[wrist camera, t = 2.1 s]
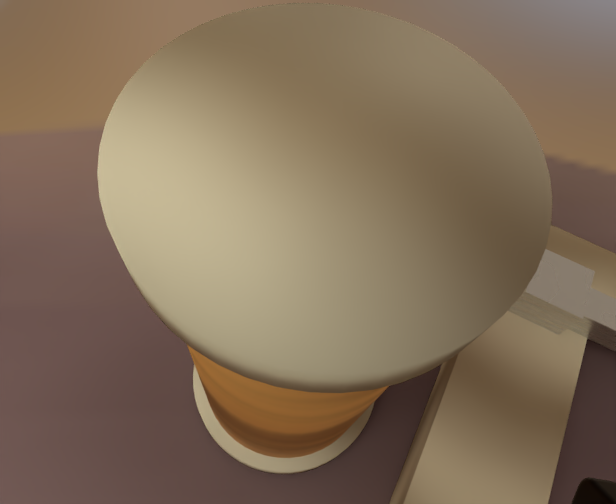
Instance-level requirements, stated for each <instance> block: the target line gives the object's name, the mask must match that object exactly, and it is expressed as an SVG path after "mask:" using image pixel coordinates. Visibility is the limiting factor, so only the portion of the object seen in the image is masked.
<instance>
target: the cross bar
mask: <svg viewBox="0 0 616 504" xmlns="http://www.w3.org/2000/svg"><path fill="white" fill-rule="evenodd" d="M594 273H595V271H593V270H591V269H589V268H587V267H584V266H582V265H580V264H578V263H576V262H573V261H571V260H569V259H567V258H565V257H562V256H560V255H558V254H556V253H554V252H551V251H549V250H547V249H545V251H544V254H543V256H542V259H541V261H540V264H539V266H538V268H537V271H536V273H535V274H534V276H533V278H532V279H531V281H530V282H529V284H528V286H527V287H526V289H525V290H524V292H523V294H522V295H521V296H520V297H519V298H518V299H517V301H516V302H515V303H514V304H513V305H512V306H511V307H510V308H509V310H508V311H509V312H511V313H514V314H516V315H518V316H520V317H522V318H524V319H526V320H528V321H530V322H532V323H534V324H537V325H539V326H541V327H543V328H545V329H547V330H549V331H551V332H553V333H555V334H557V335H558V334H560V333H562V332H563V331H565V330H566V329H569V330H571V331H573V332H575V333H577V334H579V335H582V336H584V337H586V338H588V339H590V340H592V341H594V342H596V343H598V344H600V345H603V346H605V347H607V348H609V349H611V350H613V351H615V352H616V299H615V298H613V297H610V296H608V295H606V294H604V293H602V292H600V291H597V290H595V289H593V288H591V285H592V281H593V277H594Z"/></svg>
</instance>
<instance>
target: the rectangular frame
mask: <svg viewBox="0 0 616 504" xmlns="http://www.w3.org/2000/svg"><path fill="white" fill-rule="evenodd" d="M546 249H547V250H549V251H551V252H554V253H556V254H558V255H560V256H562V257H565V258H567V259H569V260H571V261H573V262H576V263H578V264H580V265H582V266H584V267H587V268H589V269H591V270H593V271H595V273H594V277H593V281H592V285H591V288H593V289H595V290H597V291H600V292H602V293H604V294H606V295H608V296H610V297H613V298H615V299H616V254H615V253H613V252H611V251H608V250H606V249H604V248H602V247H600V246H597V245H595V244H593V243H591V242H588V241H586V240H584V239H582V238H579V237H577V236H575V235H573V234H571V233H568V232H566V231H564V230H562V229H559V228H557V227H555V226H553V225H551V227H550V231H549V236H548V241H547V245H546ZM586 341H587V338H586V337H584V336H582V335H579V334H577V333H575V332H573V331H571V330H569V329H566V330H565V331H563V332H562V333H560V334H558V335H557V334H555V333H553V332H551V331H549V330H547V329H545V328H543V327H541V326H539V325H537V324H534V323H532V322H530V321H528V320H526V319H524V318H522V317H520V316H518V315H516V314H514V313H511V312H509V311H507V312H506V313H505V314H504V315H503V316H502V317H501V318H500V319H498V320H497V321H496V322H495V323H494V324H493V325H491V326H490V327H489V328H488V329H487V330H486V331H484V332H483V333H482V334H481V335H480V336H478V337H477V338H476V339H475V340H474V341H473V342H471V343H470V344H469V345H468V346H466V347H465V348H464V349H463V350H461V351H460V352H459V353H458V354H456V355H455V356H454V357H453V358H451V359H449V360H448V361H446V362H444V363H443V364H442V366H441V369H440V371H439V374H438V376H437V379H436V382H435V384H434V387H433V390H432V392H431V395H430V397H429V400H428V403H427V405H426V408H425V411H424V413H423V416H422V418H421V421H420V424H419V426H418V429H417V432H416V434H415V437H414V439H413V442H412V445H411V447H410V450H409V453H408V455H407V458H406V460H405V463H404V466H403V468H402V471H401V474H400V476H399V479H398V481H397V484H396V487H395V489H394V492H393V495H392V497H391V500H390V502H389V504H548V501H549V496H550V492H551V488H552V484H553V480H554V475H555V471H556V467H557V463H558V459H559V455H560V450H561V446H562V442H563V438H564V434H565V429H566V425H567V421H568V417H569V413H570V408H571V404H572V400H573V396H574V392H575V388H576V383H577V379H578V375H579V371H580V367H581V362H582V358H583V354H584V350H585V346H586Z"/></svg>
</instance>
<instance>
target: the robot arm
mask: <svg viewBox="0 0 616 504" xmlns="http://www.w3.org/2000/svg"><path fill="white" fill-rule="evenodd" d="M572 504H616V483H614V482H612V481H607V480H601V479H595V478H585V479H583V480H582V481H581V482H580V484H579V486H578V489H577V491H576V494H575V496H574V499H573V501H572Z"/></svg>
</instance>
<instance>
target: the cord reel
mask: <svg viewBox="0 0 616 504" xmlns="http://www.w3.org/2000/svg"><path fill="white" fill-rule="evenodd" d="M97 174H98V185H99V197H100V201H101V205H102V209H103V213H104V217H105V221H106V224H107V227H108V229H109V231H110V233H111V236H112V238H113V240H114V242H115V245H116V247H117V249H118V251H119V253H120V255H121V257H122V259H123V261H124V263H125V265H126V267H127V269H128V271H129V273H130V275H131V277H132V279H133V281H134V283H135V285H136V287H137V288H138V290H139V291H140V293H141V294H142V296H143V297H144V299H145V301H146V302H147V304H148V305H149V307H150V308H151V309H152V310H153V311H154V313H155V314H156V315H157V316H158V317H159V318H160V319H161V320H162V322H163V323H164V324H165V325H166V326H167V327H168V328H169V329H170V330H171V331H172V332H173V333H174V334H176V335H177V336H178V337H179V338H180V339H182V340H183V341H184V342H185V343H186V344H187V346H188V348H189V351H190V354H191V356H192V359H193V362H194V371H193V388H194V395H195V400H196V404H197V407H198V411H199V413H200V415H201V417H202V420H203V422H204V424H205V426H206V428H207V430H208V431H209V433H210V434H211V436H212V438H213V439H214V440H215V441H216V442H217V444H218V445H219V446H220V447H221V448H222V449H223V450H224V451H225V452H226V453H227V454H229V455H230V456H231V457H232V458H234V459H235V460H237V461H238V462H240V463H242V464H244V465H246V466H248V467H250V468H253V469H256V470H259V471H262V472H267V473H273V474H294V473H302V472H305V471H309V470H313V469H315V468H317V467H320V466H322V465H324V464H326V463H328V462H329V461H331V460H332V459H334V458H335V457H337V456H338V455H339V454H340V453H342V452H343V451H344V450H345V449H346V448H348V447H349V446H350V445H351V444H352V442H353V441H354V440H355V439H356V438H357V437H358V435H359V434H360V433H361V431H362V430H363V428H364V427H365V425H366V423H367V421H368V419H369V417H370V415H371V412H372V409H373V406H374V402H375V400H376V399H377V398H378V397H379V396H380V395H381V394H382V393H383V392H384V391H385V390H386V389H387V388H388V387H389V386H390V385H394V384H398V383H402V382H404V381H407V380H409V379H412V378H414V377H417V376H419V375H422V374H424V373H427V372H429V371H431V370H432V369H434V368H436V367H438V366H439V365H441V364H443V363H444V362H446V361H448V360H449V359H451V358H453V357H454V356H455V355H456V354H458V353H459V352H460V351H461V350H463V349H464V348H465V347H466V346H468V345H469V344H470V343H471V342H473V341H474V340H475V339H476V338H477V337H478V336H480V335H481V334H482V333H483V332H484V331H486V330H487V329H488V328H489V327H490V326H491V325H493V324H494V323H495V322H496V321H497V320H498V319H500V318H501V317H502V316H503V315H504V314H505V313H506V312H507V311H508V310H509V308H510V307H511V306H512V305H513V304H514V303H515V302H516V301H517V299H518V298H519V297H520V296H521V295H522V294H523V292H524V290H525V289H526V287H527V286H528V284H529V282H530V281H531V279H532V278H533V276H534V274H535V273H536V271H537V268H538V266H539V264H540V261H541V259H542V256H543V254H544V251H545V249H546V245H547V241H548V236H549V231H550V227H551V217H552V192H551V182H550V175H549V171H548V167H547V164H546V160H545V156H544V153H543V150H542V148H541V145H540V143H539V141H538V138H537V136H536V133H535V131H534V130H533V128H532V126H531V124H530V123H529V121H528V119H527V118H526V116H525V114H524V112H523V111H522V110H521V108H520V107H519V105H518V104H517V103H516V101H515V100H514V99H513V97H512V96H511V95H510V94H509V92H508V91H507V90H506V89H505V88H504V87H503V86H502V85H501V84H500V83H499V82H498V81H497V79H496V78H495V77H494V76H493V75H492V74H490V73H489V72H488V71H487V70H486V69H485V68H483V67H482V66H481V65H480V64H479V63H478V62H476V61H475V60H474V59H473V58H471V57H470V56H469V55H467V54H466V53H464V52H463V51H461V50H460V49H459V48H457V47H456V46H454V45H452V44H451V43H449V42H447V41H445V40H443V39H442V38H440V37H438V36H437V35H435V34H433V33H431V32H429V31H427V30H424V29H422V28H420V27H418V26H415V25H413V24H411V23H408V22H405V21H403V20H400V19H397V18H394V17H391V16H389V15H385V14H381V13H377V12H373V11H369V10H366V9H359V8H354V7H349V6H343V5H333V4H321V3H289V4H278V5H268V6H262V7H257V8H252V9H246V10H242V11H239V12H235V13H232V14H228V15H224V16H221V17H219V18H217V19H214V20H211V21H209V22H206V23H204V24H201V25H199V26H197V27H195V28H193V29H192V30H190V31H188V32H186V33H184V34H182V35H180V36H179V37H177V38H176V39H174V40H173V41H171V42H170V43H168V44H167V45H165V46H164V47H163V48H161V49H160V50H159V51H158V52H157V53H155V54H154V55H153V56H152V57H151V58H150V59H149V60H147V61H146V62H145V63H144V64H143V65H142V66H141V67H140V68H139V70H138V71H137V72H136V73H135V74H134V75H133V77H132V78H131V79H130V80H129V81H128V83H127V84H126V86H125V87H124V89H123V90H122V92H121V93H120V95H119V97H118V98H117V100H116V101H115V103H114V106H113V108H112V110H111V112H110V115H109V117H108V119H107V121H106V124H105V128H104V131H103V135H102V139H101V143H100V147H99V159H98V171H97Z"/></svg>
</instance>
